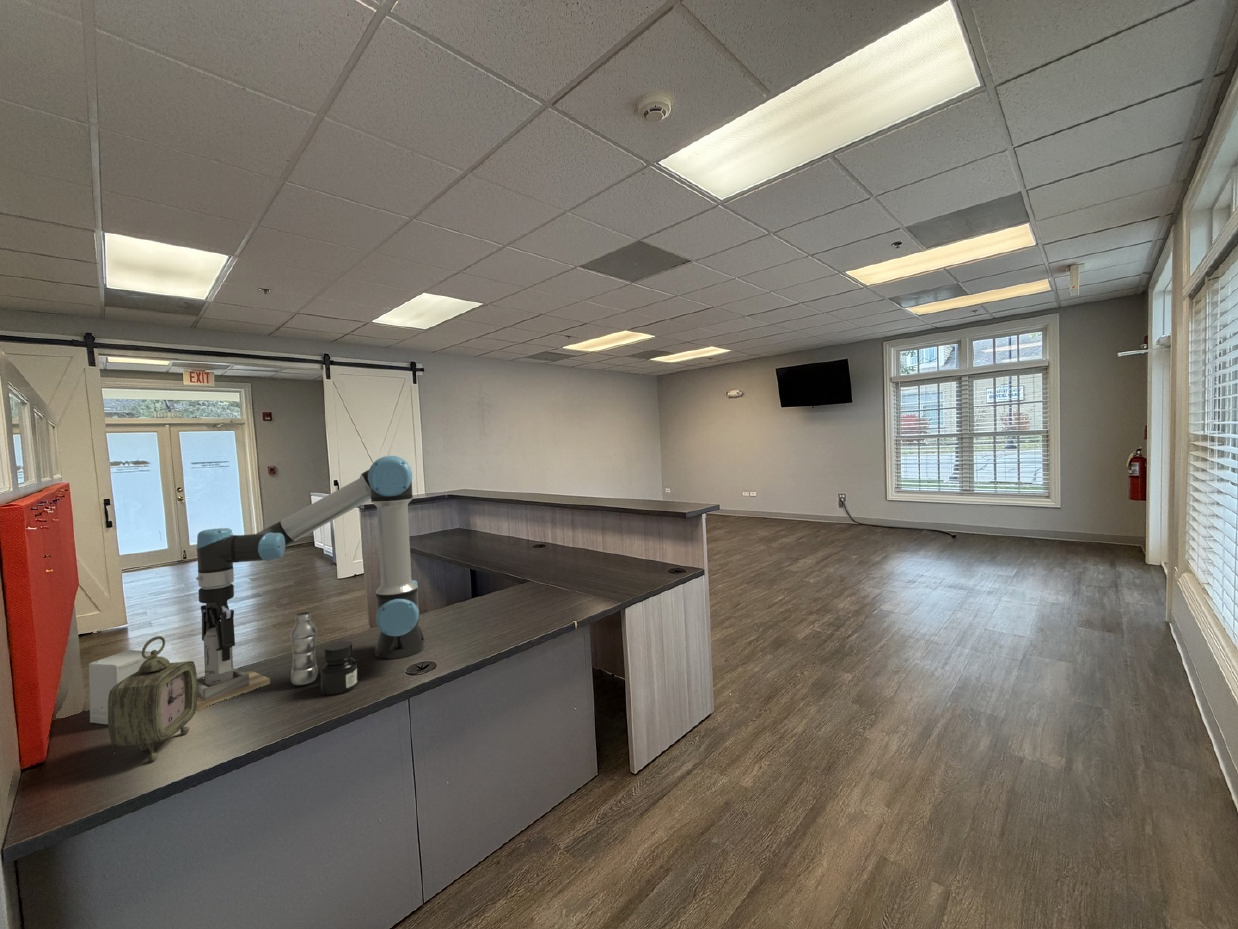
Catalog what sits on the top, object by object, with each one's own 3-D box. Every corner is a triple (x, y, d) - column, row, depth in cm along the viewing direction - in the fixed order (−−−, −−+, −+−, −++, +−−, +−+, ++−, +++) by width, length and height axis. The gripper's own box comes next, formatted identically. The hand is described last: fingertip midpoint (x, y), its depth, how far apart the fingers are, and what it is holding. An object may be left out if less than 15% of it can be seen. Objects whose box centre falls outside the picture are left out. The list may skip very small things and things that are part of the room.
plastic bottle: (287, 683, 142) (285, 614, 142) (314, 675, 147) (312, 608, 147) (294, 691, 138) (292, 619, 138) (321, 682, 143) (319, 613, 143)
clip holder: (270, 683, 143) (269, 668, 143) (182, 716, 125) (181, 698, 125) (251, 675, 148) (250, 660, 148) (164, 705, 131) (163, 688, 131)
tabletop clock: (156, 765, 105) (152, 648, 105) (105, 772, 103) (101, 652, 103) (198, 728, 119) (195, 625, 119) (154, 733, 117) (150, 628, 117)
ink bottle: (357, 691, 137) (356, 648, 137) (320, 699, 133) (319, 655, 133) (356, 678, 146) (355, 637, 145) (321, 685, 141) (320, 643, 141)
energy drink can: (201, 684, 136) (200, 630, 136) (228, 676, 141) (226, 624, 141) (209, 690, 132) (208, 634, 132) (236, 681, 137) (235, 627, 137)
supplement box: (117, 727, 121) (115, 665, 120) (89, 723, 122) (86, 663, 122) (158, 708, 130) (156, 651, 129) (131, 705, 131) (129, 649, 131)
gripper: (184, 584, 138) (187, 667, 138) (215, 593, 128) (218, 682, 129) (216, 578, 144) (219, 657, 145) (249, 586, 135) (251, 671, 135)
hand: (219, 669), depth 137 cm, fingers closed on energy drink can, 6 cm apart
